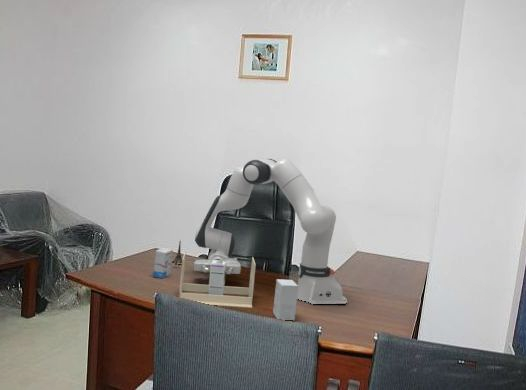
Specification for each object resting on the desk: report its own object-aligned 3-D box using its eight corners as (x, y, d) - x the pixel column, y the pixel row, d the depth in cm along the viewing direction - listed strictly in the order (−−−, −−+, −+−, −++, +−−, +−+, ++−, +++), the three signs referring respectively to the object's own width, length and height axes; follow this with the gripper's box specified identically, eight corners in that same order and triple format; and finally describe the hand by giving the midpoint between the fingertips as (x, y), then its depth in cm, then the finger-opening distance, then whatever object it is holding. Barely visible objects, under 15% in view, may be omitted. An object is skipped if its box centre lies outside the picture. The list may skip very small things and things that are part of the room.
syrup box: (222, 300, 184) (225, 264, 182) (207, 299, 184) (210, 262, 182) (223, 296, 189) (227, 261, 188) (209, 294, 189) (212, 259, 188)
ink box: (163, 278, 205) (165, 252, 204) (152, 277, 206) (154, 250, 205) (171, 274, 213) (173, 248, 212) (160, 272, 214) (162, 247, 213)
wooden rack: (249, 292, 197) (252, 255, 196) (252, 308, 178) (256, 266, 177) (181, 288, 194) (185, 250, 193) (178, 303, 176) (181, 261, 174)
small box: (294, 321, 169) (298, 285, 168) (277, 320, 168) (281, 285, 166) (288, 313, 177) (292, 279, 176) (272, 312, 175) (276, 278, 174)
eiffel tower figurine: (174, 260, 242) (176, 234, 240) (192, 263, 239) (195, 237, 238) (161, 266, 227) (163, 239, 226) (180, 269, 225) (182, 242, 223)
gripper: (194, 254, 210) (193, 262, 196) (240, 258, 212) (241, 265, 198) (193, 268, 210) (191, 277, 197) (239, 271, 212) (240, 280, 199)
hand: (217, 271), depth 197 cm, fingers open, 8 cm apart
